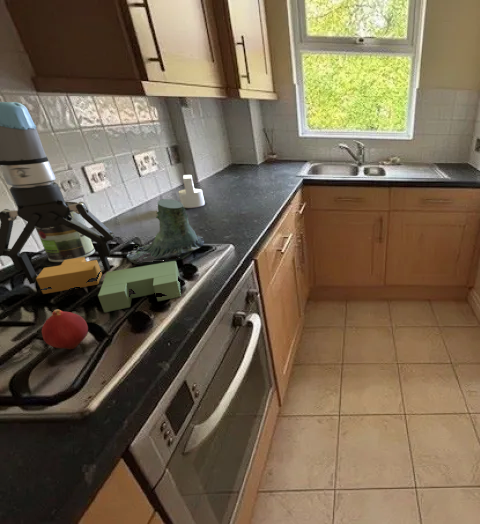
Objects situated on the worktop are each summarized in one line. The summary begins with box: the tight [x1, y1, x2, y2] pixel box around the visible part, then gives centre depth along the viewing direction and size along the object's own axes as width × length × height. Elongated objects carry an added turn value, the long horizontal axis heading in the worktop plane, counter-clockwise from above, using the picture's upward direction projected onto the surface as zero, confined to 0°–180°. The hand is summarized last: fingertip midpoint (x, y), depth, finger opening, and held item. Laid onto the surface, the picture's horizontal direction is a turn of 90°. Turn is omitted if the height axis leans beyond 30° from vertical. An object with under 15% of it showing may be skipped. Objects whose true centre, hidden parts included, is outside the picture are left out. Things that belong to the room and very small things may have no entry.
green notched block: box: [97, 260, 182, 313], centre depth 75 cm, size 14×12×4 cm
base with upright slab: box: [177, 174, 206, 209], centre depth 139 cm, size 9×9×12 cm
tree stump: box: [126, 198, 205, 266], centre depth 94 cm, size 18×20×18 cm
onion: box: [41, 309, 89, 350], centre depth 56 cm, size 6×6×8 cm
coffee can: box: [35, 201, 96, 263], centre depth 90 cm, size 10×10×14 cm
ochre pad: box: [36, 257, 103, 295], centre depth 79 cm, size 10×10×4 cm
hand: (72, 274), depth 78 cm, fingers open, 13 cm apart
